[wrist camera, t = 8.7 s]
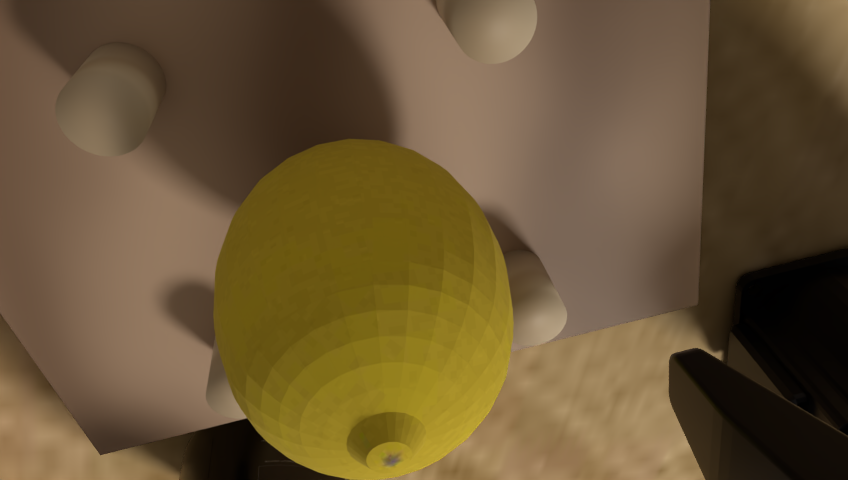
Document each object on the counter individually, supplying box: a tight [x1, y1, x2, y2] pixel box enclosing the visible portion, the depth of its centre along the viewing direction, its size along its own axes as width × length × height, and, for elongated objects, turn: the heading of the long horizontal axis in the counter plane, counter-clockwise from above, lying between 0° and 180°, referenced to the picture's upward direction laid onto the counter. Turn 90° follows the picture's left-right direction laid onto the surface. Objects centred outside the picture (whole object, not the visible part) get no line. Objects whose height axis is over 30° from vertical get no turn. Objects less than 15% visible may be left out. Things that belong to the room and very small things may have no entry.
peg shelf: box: [0, 0, 710, 455], centre depth 18 cm, size 18×13×6 cm
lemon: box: [213, 139, 514, 480], centre depth 13 cm, size 6×6×8 cm
